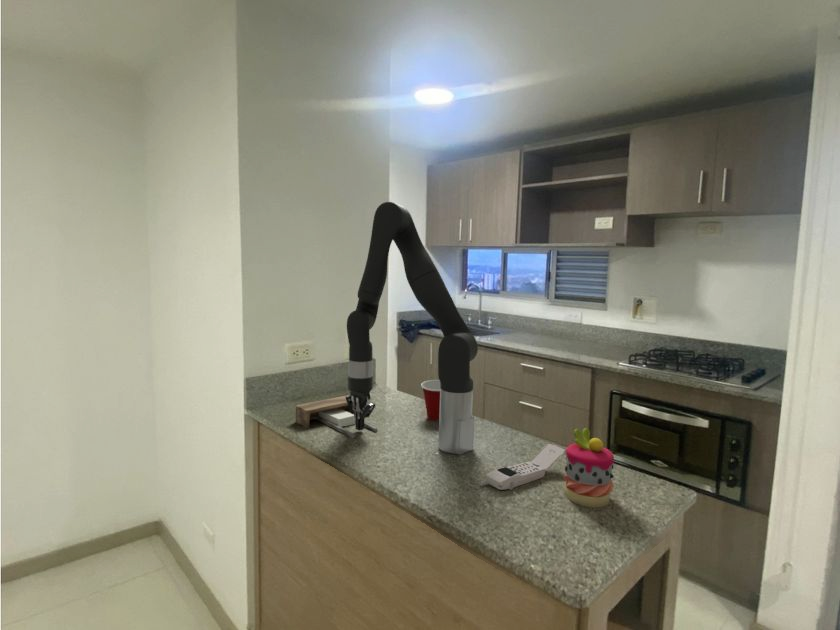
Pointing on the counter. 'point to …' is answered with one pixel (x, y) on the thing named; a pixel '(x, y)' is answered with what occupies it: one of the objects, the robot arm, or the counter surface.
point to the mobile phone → (524, 469)
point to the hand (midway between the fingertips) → (359, 429)
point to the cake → (588, 471)
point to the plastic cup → (432, 398)
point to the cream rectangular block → (337, 416)
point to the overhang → (312, 409)
